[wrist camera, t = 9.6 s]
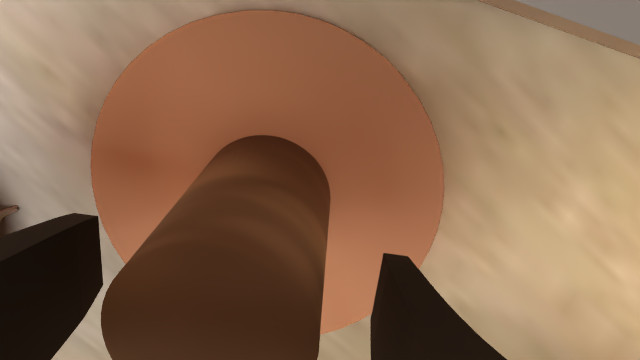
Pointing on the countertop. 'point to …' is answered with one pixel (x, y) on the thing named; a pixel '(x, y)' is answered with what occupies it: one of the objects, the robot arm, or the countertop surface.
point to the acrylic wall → (585, 19)
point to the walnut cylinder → (230, 264)
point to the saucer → (281, 121)
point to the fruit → (7, 211)
